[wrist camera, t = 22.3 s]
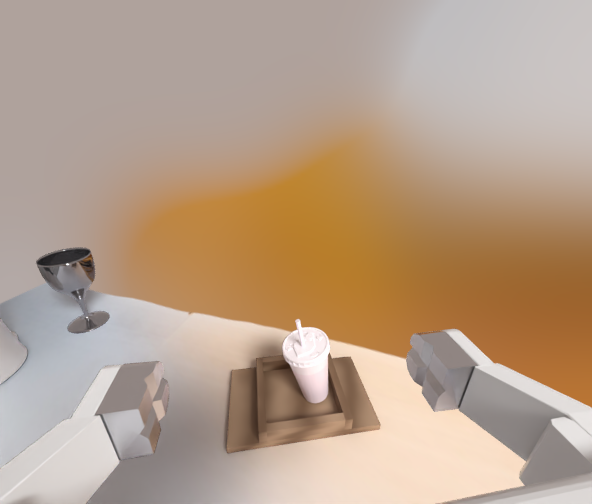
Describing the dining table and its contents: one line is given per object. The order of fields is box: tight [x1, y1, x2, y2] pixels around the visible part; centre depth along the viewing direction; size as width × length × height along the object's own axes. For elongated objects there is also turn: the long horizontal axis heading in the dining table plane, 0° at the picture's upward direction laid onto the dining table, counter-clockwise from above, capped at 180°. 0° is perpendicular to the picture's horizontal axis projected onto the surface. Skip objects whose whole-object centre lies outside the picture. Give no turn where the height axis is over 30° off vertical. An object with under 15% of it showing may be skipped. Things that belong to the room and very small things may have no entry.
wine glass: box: [36, 248, 109, 333], centre depth 54 cm, size 8×8×15 cm
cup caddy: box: [227, 353, 380, 453], centre depth 40 cm, size 20×12×3 cm, turn 99°
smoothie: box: [282, 319, 330, 403], centre depth 38 cm, size 6×6×14 cm
